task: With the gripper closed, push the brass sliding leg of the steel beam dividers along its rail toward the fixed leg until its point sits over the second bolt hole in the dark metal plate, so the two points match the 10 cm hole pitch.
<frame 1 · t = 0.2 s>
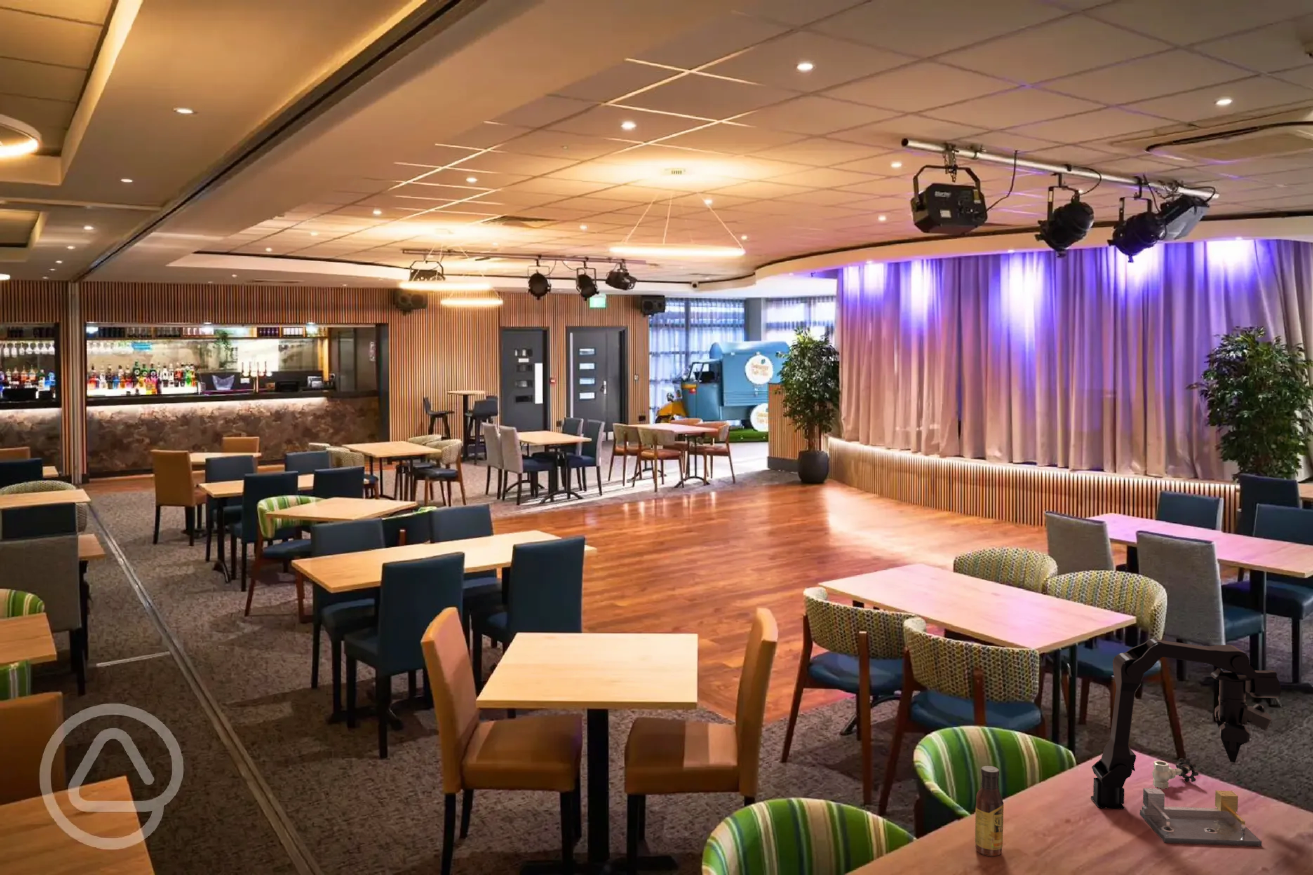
hand: (1230, 755, 247), 15 cm above the table, tool pointing down, fingers open, 9 cm apart
sliding leg: (1233, 810, 238), point 4 cm above the table, slide at 0.0 cm
sauce bottle: (988, 851, 228), on the table
valve: (1171, 785, 264), on the table
bolt plate dividers: (1198, 829, 237), on the table
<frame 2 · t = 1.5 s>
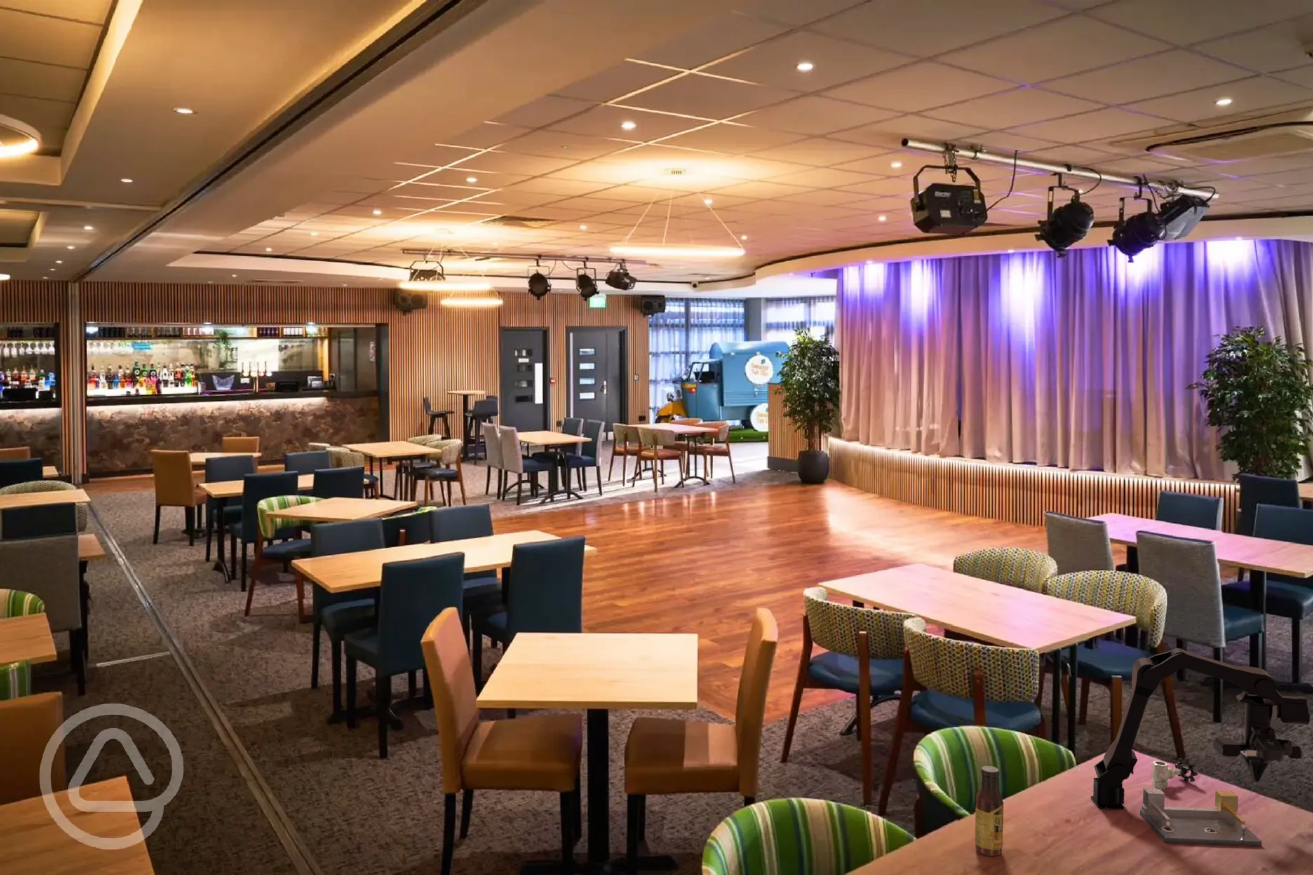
hand: (1255, 781, 241), 10 cm above the table, tool pointing down, fingers closed
nothing on the table moved.
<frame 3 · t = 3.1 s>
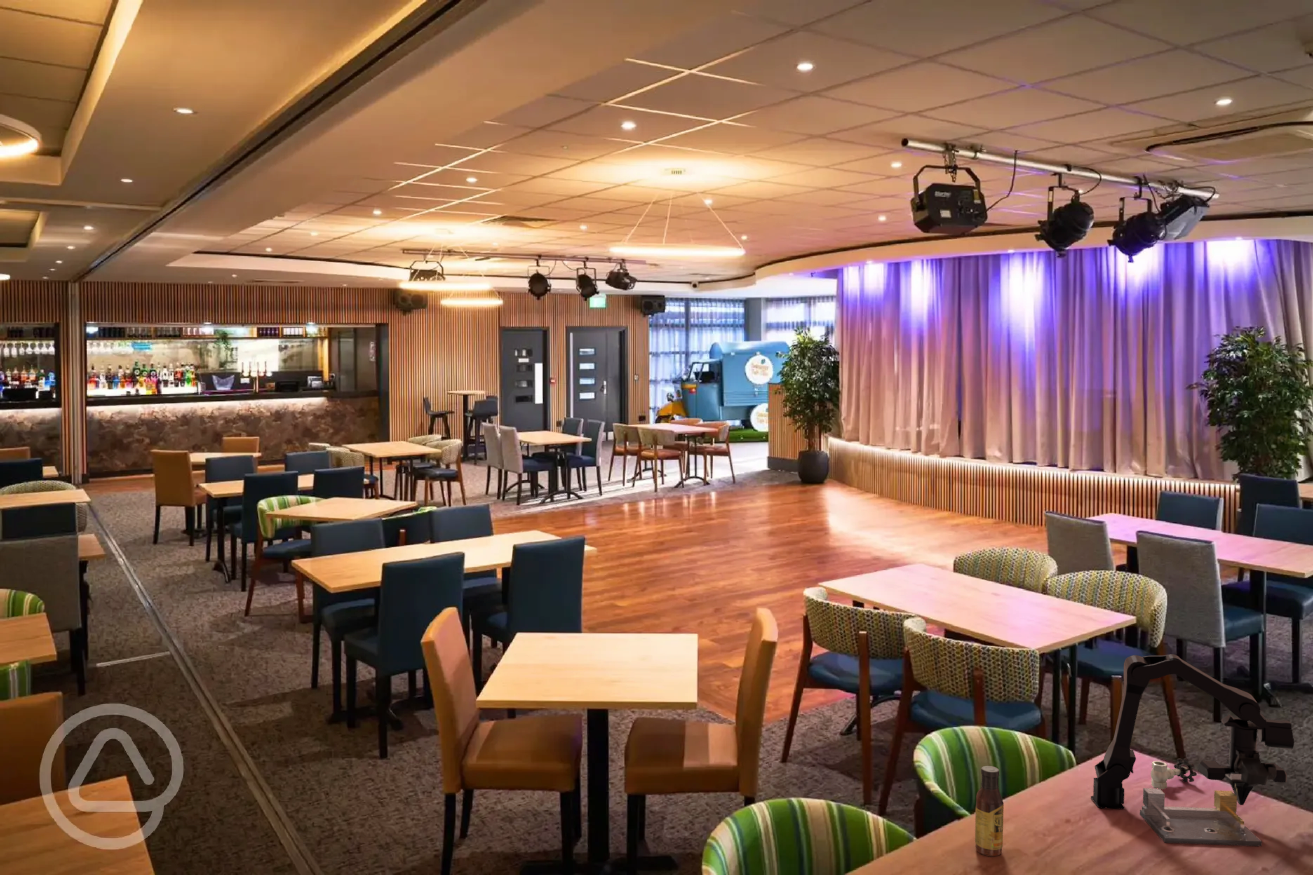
hand: (1240, 804, 241), 4 cm above the table, tool pointing down, fingers closed
sliding leg: (1232, 810, 238), point 4 cm above the table, slide at 0.2 cm, touching gripper
everything else where it was.
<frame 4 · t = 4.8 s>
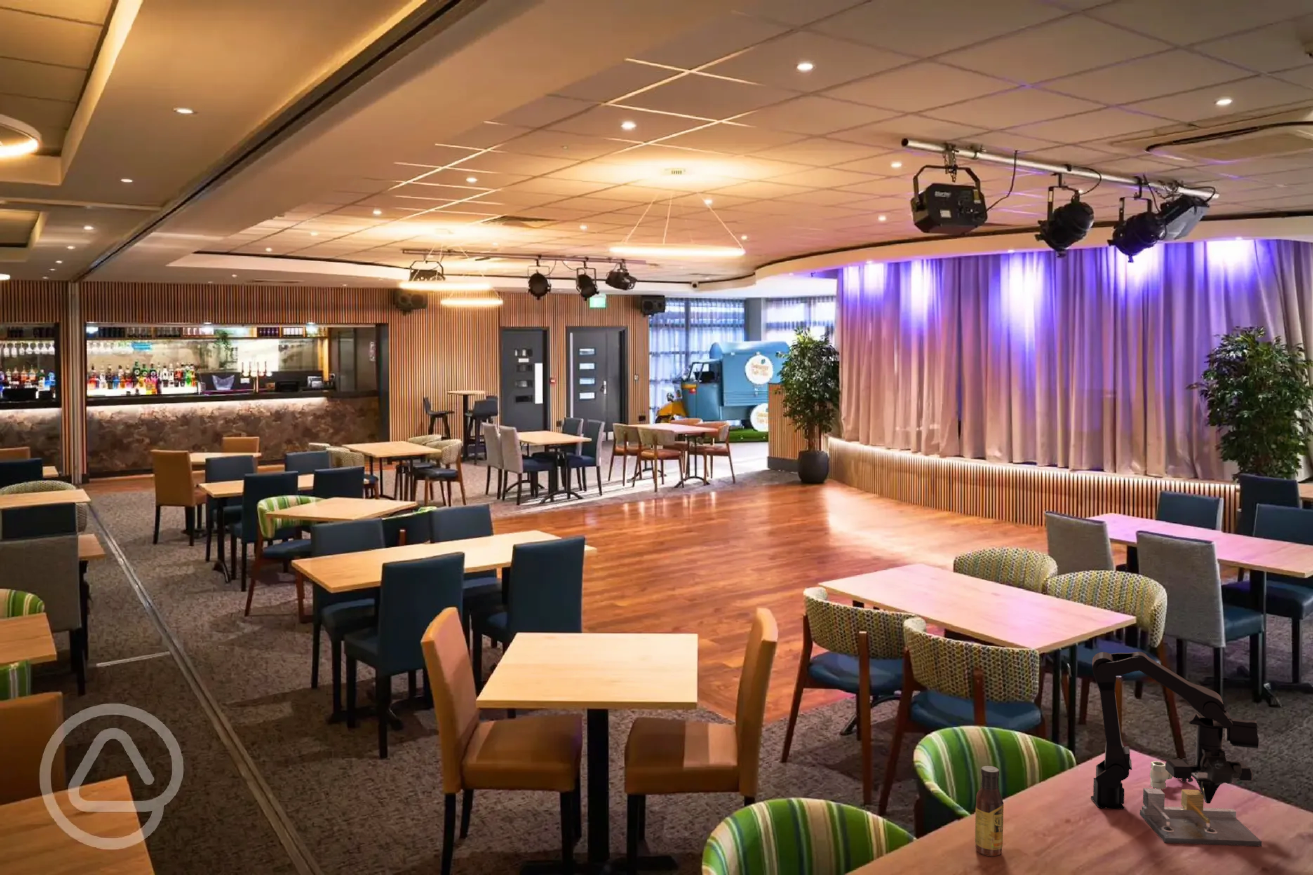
hand: (1207, 802, 242), 4 cm above the table, tool pointing down, fingers closed
sliding leg: (1199, 809, 239), point 4 cm above the table, slide at 8.2 cm, touching gripper
everything else where it was.
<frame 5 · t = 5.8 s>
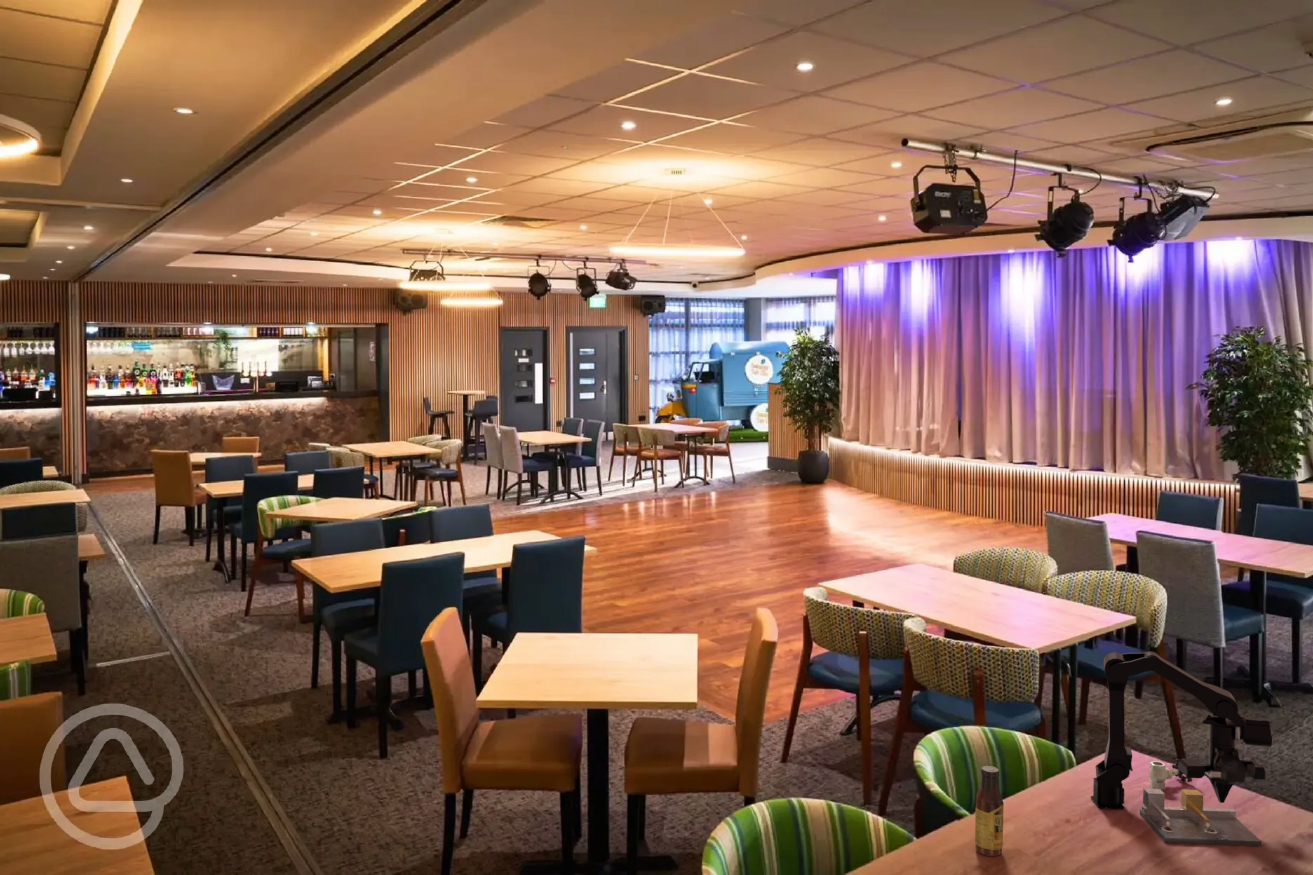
hand: (1221, 802, 242), 5 cm above the table, tool pointing down, fingers closed
sliding leg: (1198, 809, 239), point 4 cm above the table, slide at 8.3 cm
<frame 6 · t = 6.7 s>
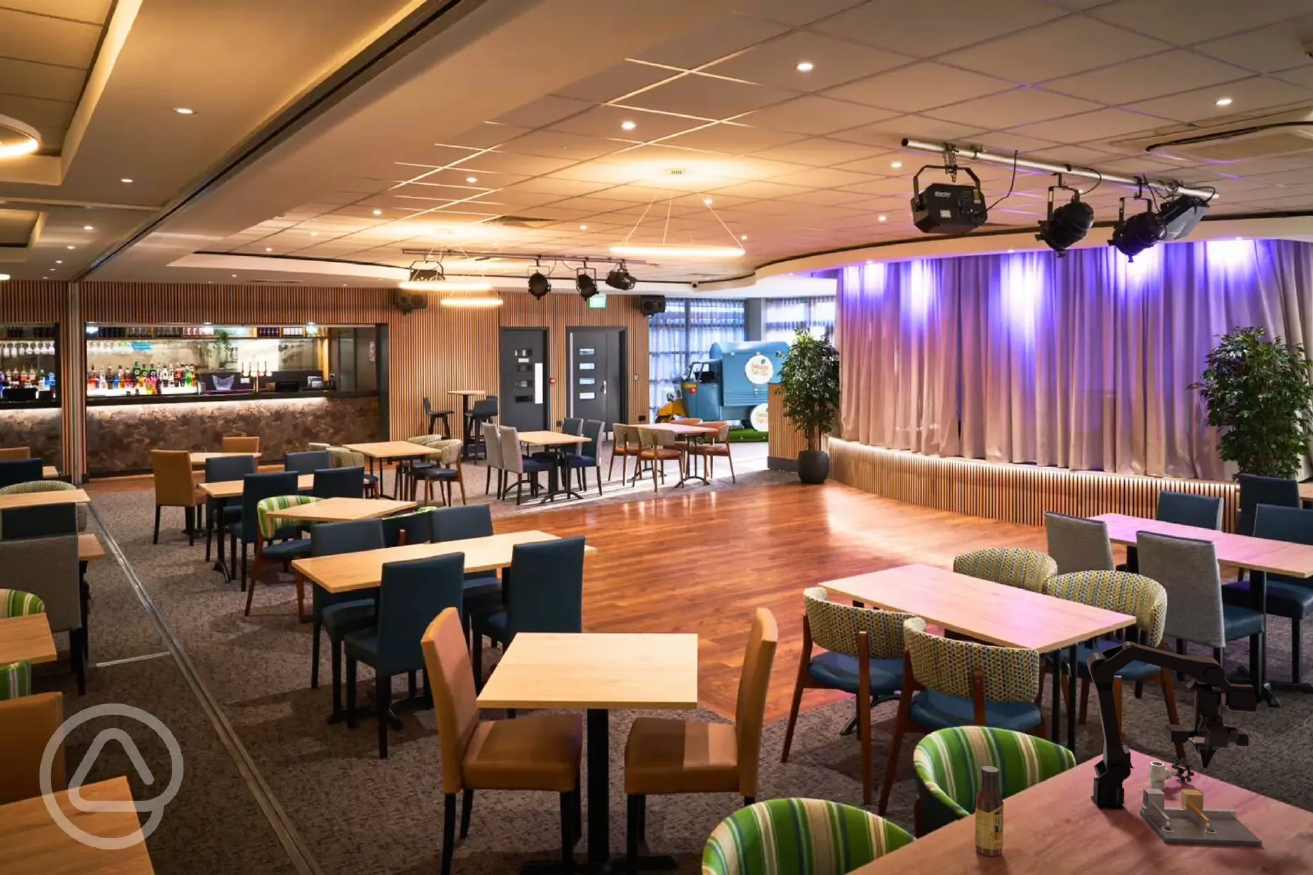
hand: (1204, 767, 245), 12 cm above the table, tool pointing down, fingers closed
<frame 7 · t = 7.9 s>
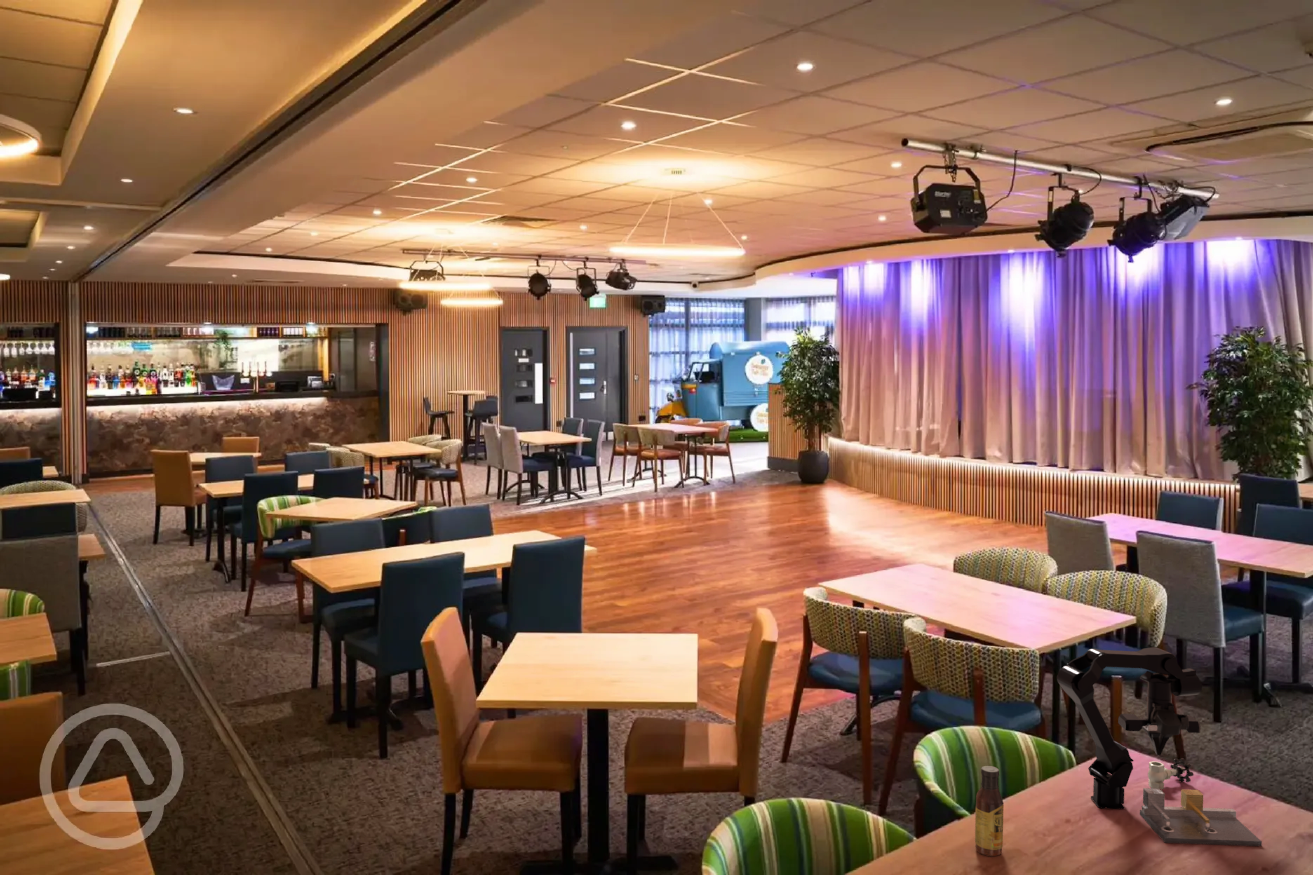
hand: (1158, 754, 254), 12 cm above the table, tool pointing down, fingers closed
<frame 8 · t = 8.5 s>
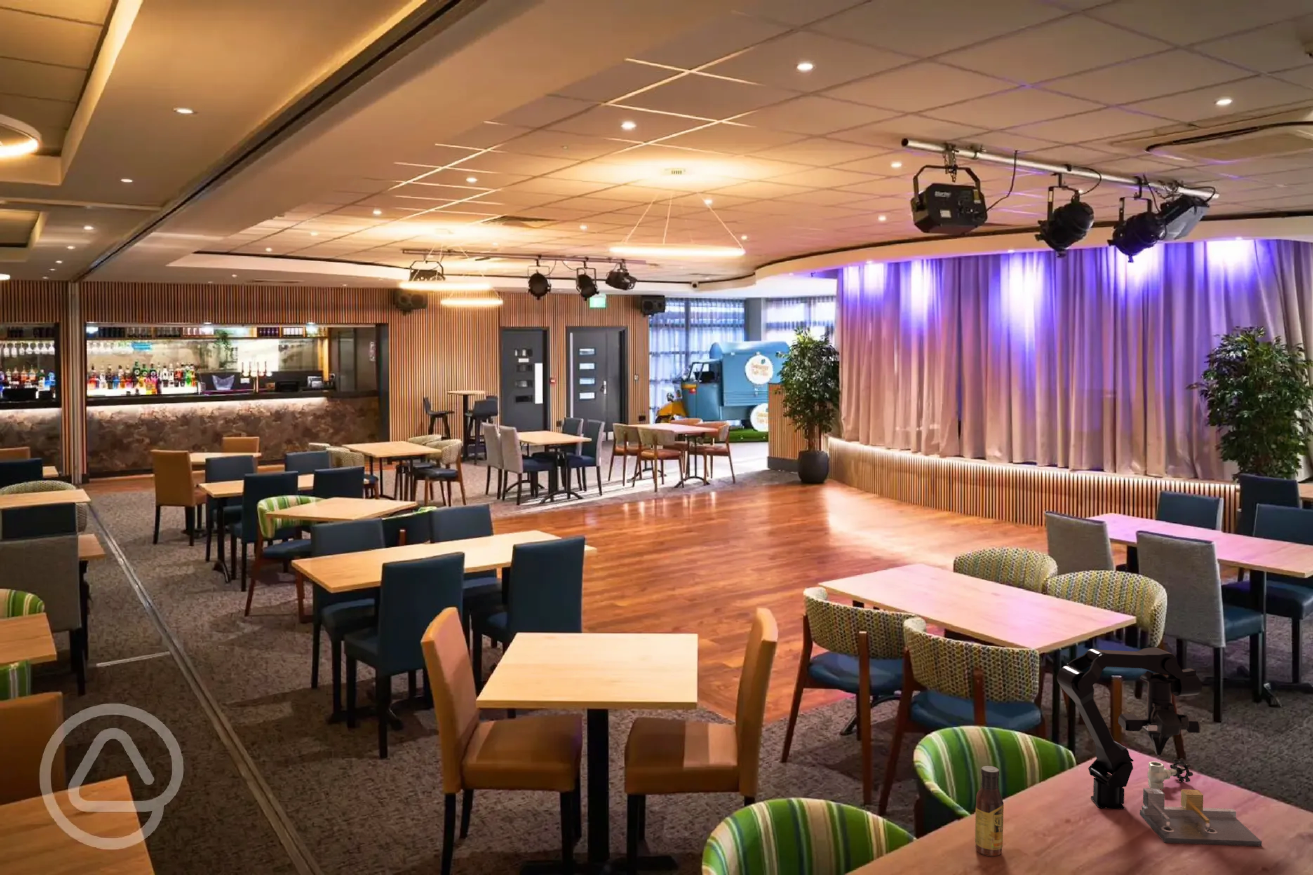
hand: (1158, 754, 254), 12 cm above the table, tool pointing down, fingers closed
at the end: sliding leg slide at 8.3 cm; valve moved 1.8 cm from its start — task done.
